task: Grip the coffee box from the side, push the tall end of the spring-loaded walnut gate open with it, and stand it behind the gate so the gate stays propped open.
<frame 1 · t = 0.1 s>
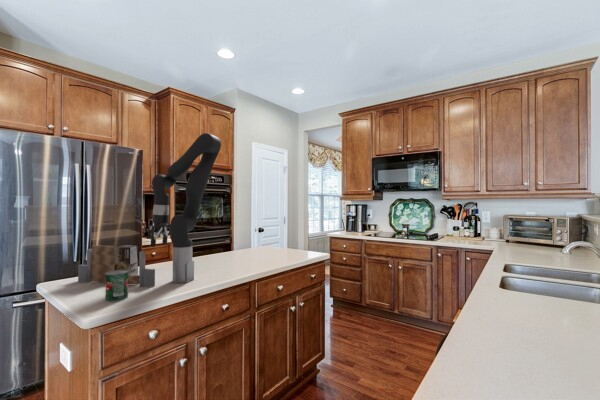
hand: (159, 245, 150), 17 cm above the countertop, tool pointing down, fingers open, 8 cm apart
fence: (138, 285, 139), on the countertop
coffee box: (126, 277, 155), on the countertop
canned tomato: (116, 299, 121), on the countertop
gate: (115, 264, 142), point 9 cm above the countertop, hinge at 0.0°
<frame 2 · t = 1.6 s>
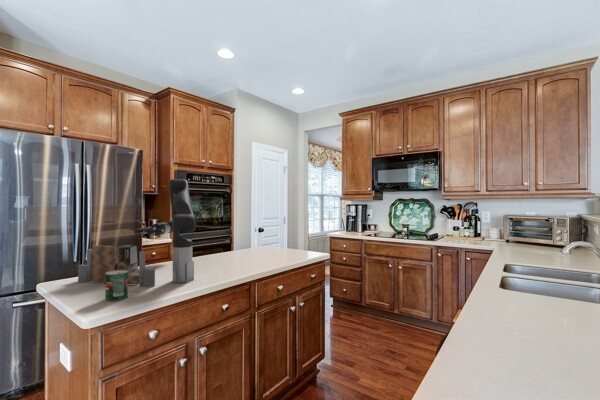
hand: (141, 232, 165), 22 cm above the countertop, tool horizontal, fingers open, 8 cm apart
nothing on the countertop moved.
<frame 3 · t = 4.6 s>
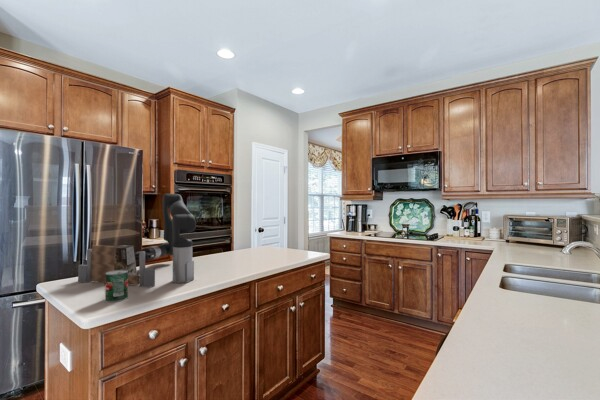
hand: (129, 258, 156), 9 cm above the countertop, tool horizontal
coffee box: (125, 277, 154), on the countertop, touching gripper
everything else where it was.
when the fingers open (10 cm above the countertop, at t = 7.2 s): coffee box moves 2 cm, resting on gate.
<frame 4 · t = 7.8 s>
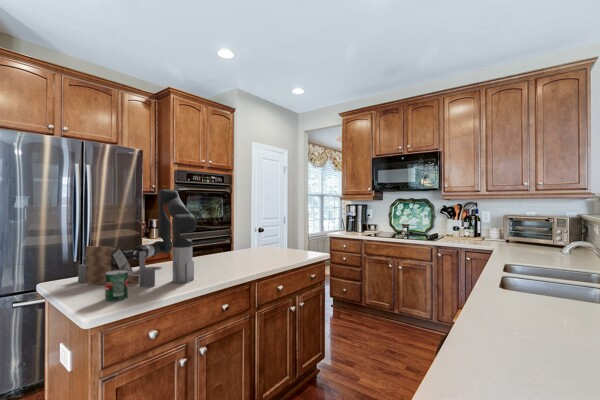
hand: (120, 257, 151), 11 cm above the countertop, tool horizontal, fingers open, 8 cm apart
coffee box: (122, 275, 152), point 1 cm above the countertop, touching gate, gripper
gate: (112, 265, 140), point 9 cm above the countertop, hinge at 7.8°, touching coffee box
everything else where it was.
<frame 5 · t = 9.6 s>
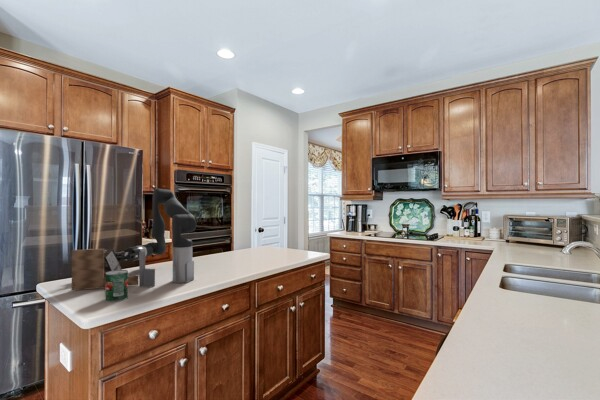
hand: (110, 258, 145), 11 cm above the countertop, tool horizontal, fingers open, 8 cm apart
coffee box: (111, 278, 146), point 1 cm above the countertop, touching gate, gripper
gate: (106, 268, 135), point 9 cm above the countertop, hinge at 31.6°, touching coffee box
everything else where it was.
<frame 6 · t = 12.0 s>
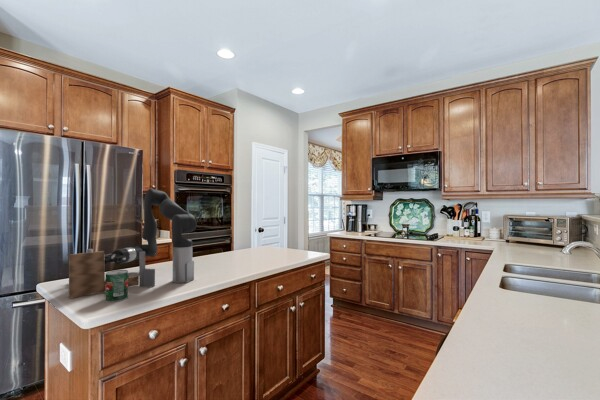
hand: (96, 261, 138), 12 cm above the countertop, tool horizontal, fingers open, 7 cm apart
coffee box: (92, 284, 136), point 1 cm above the countertop, touching gate, gripper
gate: (106, 270, 129), point 9 cm above the countertop, hinge at 59.0°, touching coffee box
everything else where it was.
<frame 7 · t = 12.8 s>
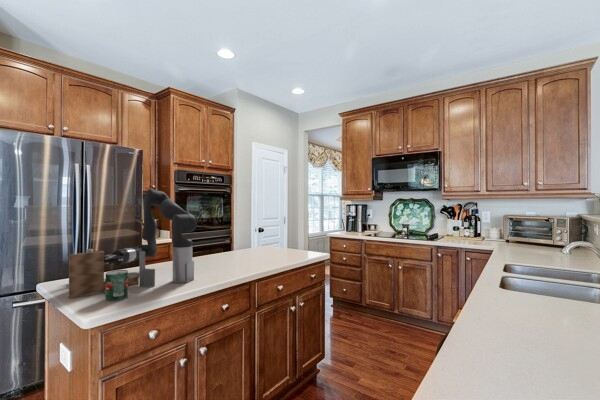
hand: (94, 262, 136), 11 cm above the countertop, tool horizontal, fingers closed
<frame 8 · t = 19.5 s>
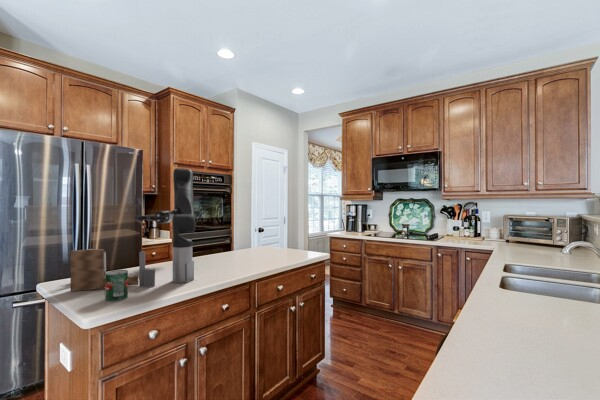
hand: (145, 218, 164), 30 cm above the countertop, tool horizontal, fingers open, 8 cm apart
coffee box: (93, 287, 136), on the countertop
gate: (105, 268, 134), point 9 cm above the countertop, hinge at 34.7°
everything else where it was.
at the end: gate at +34° (first picture: +0°); coffee box tilted 0°; coffee box inside the target area (1.8 cm from its centre), on the countertop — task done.
